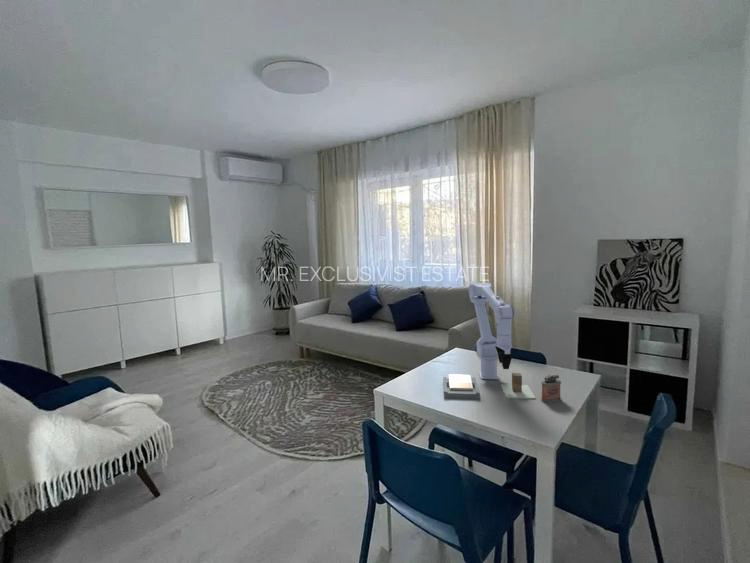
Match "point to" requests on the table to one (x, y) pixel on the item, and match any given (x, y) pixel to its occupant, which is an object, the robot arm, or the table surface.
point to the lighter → (551, 389)
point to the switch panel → (461, 391)
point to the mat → (524, 394)
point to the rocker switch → (460, 382)
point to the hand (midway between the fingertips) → (504, 365)
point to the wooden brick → (516, 382)
